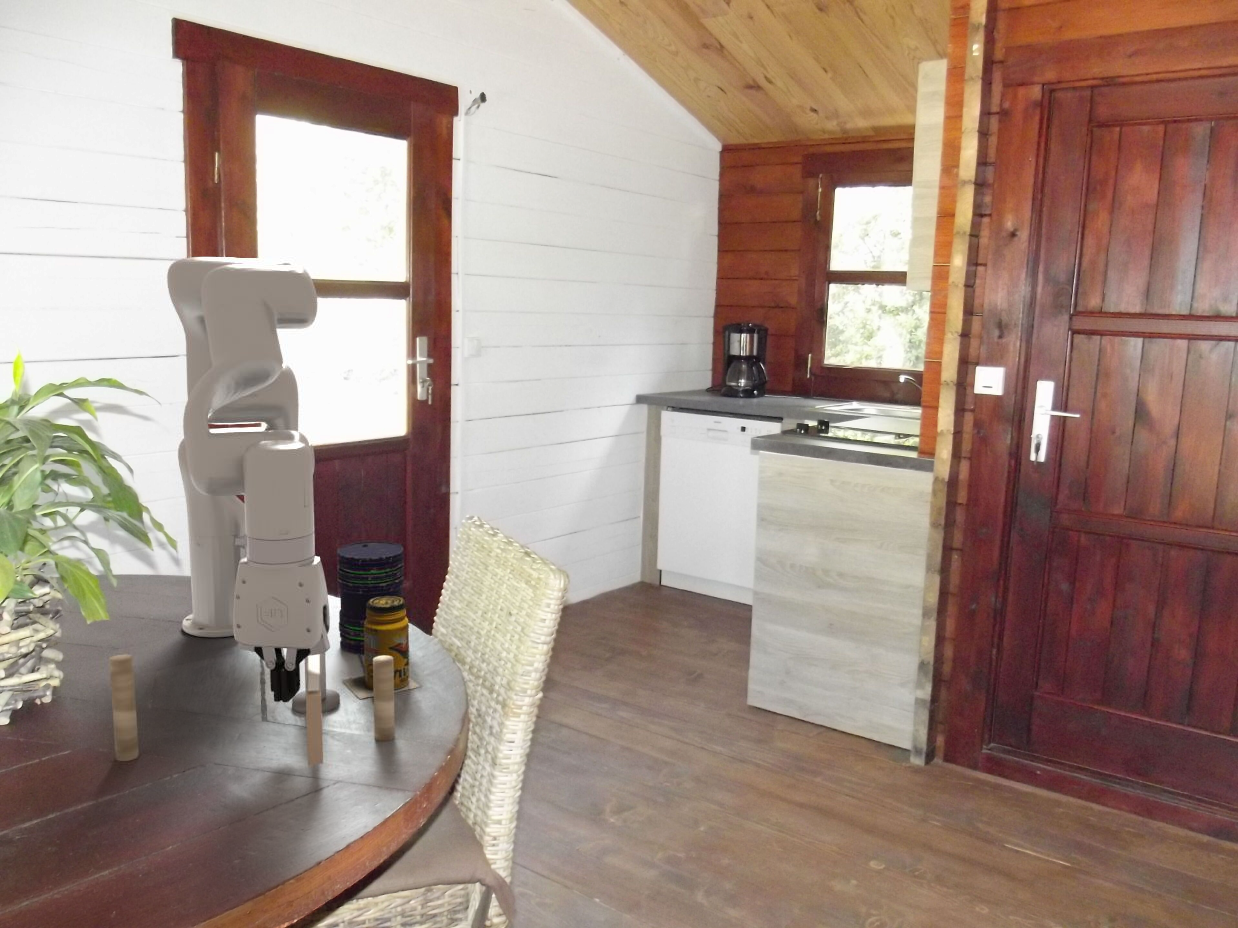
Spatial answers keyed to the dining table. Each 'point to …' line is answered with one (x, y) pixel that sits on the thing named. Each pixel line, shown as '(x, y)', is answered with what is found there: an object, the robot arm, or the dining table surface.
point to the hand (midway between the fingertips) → (285, 697)
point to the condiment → (384, 644)
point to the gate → (315, 705)
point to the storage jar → (365, 585)
